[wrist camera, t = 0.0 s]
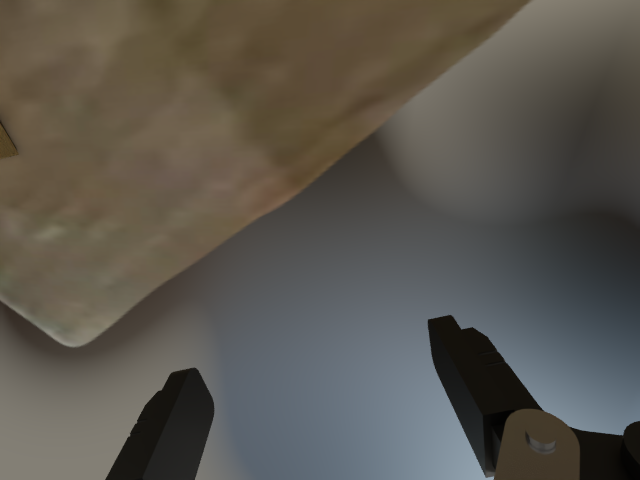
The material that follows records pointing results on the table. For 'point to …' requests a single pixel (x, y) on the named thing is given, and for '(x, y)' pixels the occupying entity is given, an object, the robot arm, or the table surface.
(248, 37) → the table surface
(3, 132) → the latch bar
